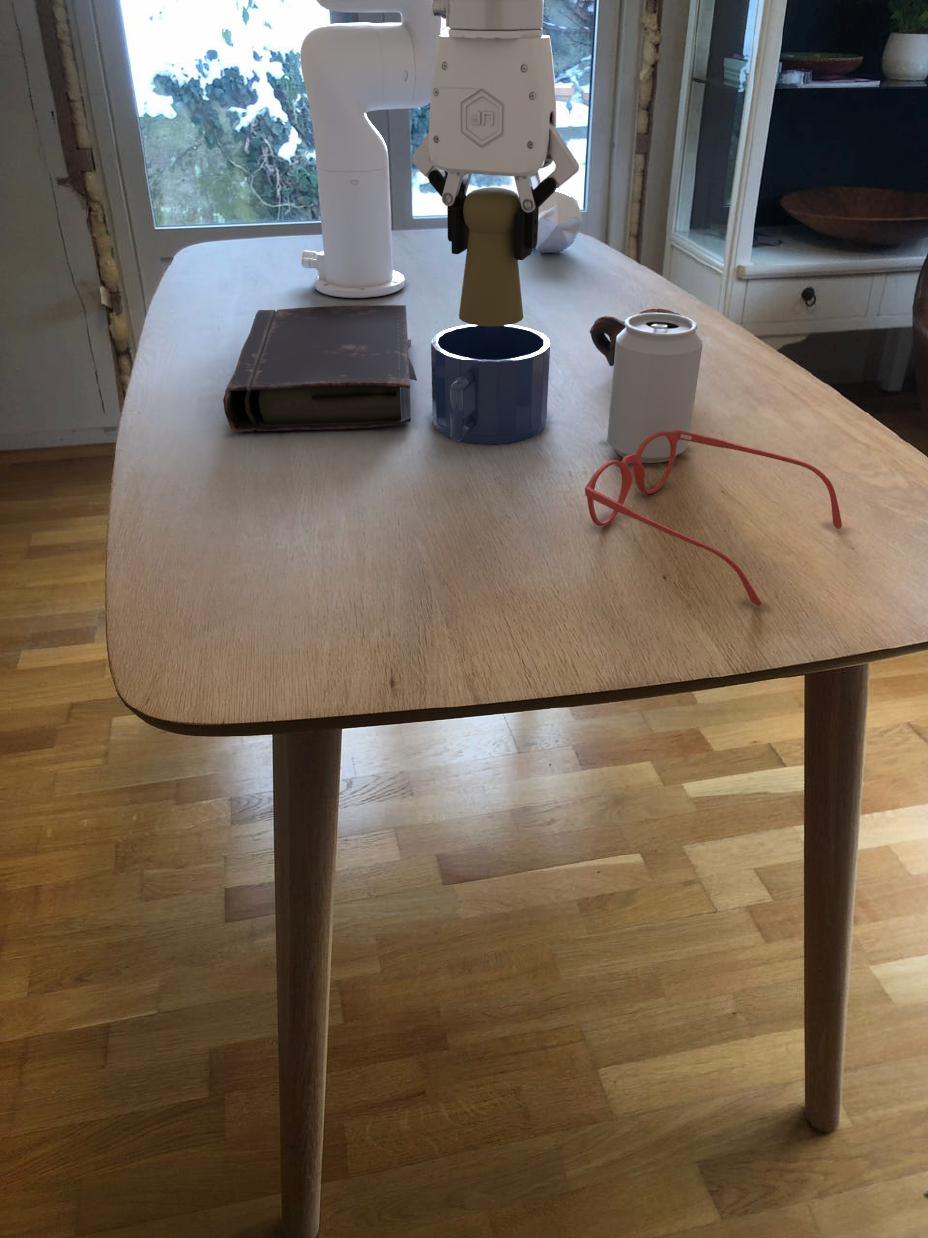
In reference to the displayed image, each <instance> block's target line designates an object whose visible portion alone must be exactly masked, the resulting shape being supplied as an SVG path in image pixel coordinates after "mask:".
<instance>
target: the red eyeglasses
mask: <svg viewBox="0 0 928 1238" xmlns="http://www.w3.org/2000/svg"><path fill="white" fill-rule="evenodd" d="M659 436H666V437H667V438H668V440H669V442H670V448H671V451H670V459H669V461H668V464H667V467H666V470H665V472H664V474H663V476H662V478H661V479H660V481H659V482H658V483H657V484H656V485H655V486H654V487H653V488H651V489H646V487H645V475H646V473H645V472H646V470H645V468H644V466H643V462H641V455H642V452H643V450H644V448H645V447H646V445H647V444H648V443H649V442H650V441H652V440H653V439H655V438H657V437H659ZM678 440H686V441H689V442H691V443H696V444H701V445H706V446H711V447H715V448H720V449H727V450H728V449H729V450H734V451H739V452H744V453H748V454H752V455H756V456H761V457H765V458H770V459H774V460H777V461H782V462H785V463H789V464H793V465H796V466H799V467H803V468H805V469H808V470H809V471H811V472H813V473H814V474H815V475H816V476H817V477H819V478H820V480H821V481H822V483H824V485H825V486H826V489H827V491H828V494H829V498H830V506H831V516H832V525H833V526H834V527H835V528H836V529H837V530H840V529H841V528H842V527H843V523H842V518H841V517H842V516H841V511H840V508H839V507H840V506H839V503H838V498H837V493H836V490H835V488H834V485H833V483H832V482H831V481H830V479H829V478H828V477H827V475H825V473H823V471H821V470H820V469H818V468H817V467H815V466H813V465H811V464H810V463H808V462H805V461H802V460H799V459H797V458H796V459H795V458H792V457H790V456H789V457H788V456H785V455H781V454H777V453H773V452H770V451H765V450H761V449H757V448H753V447H748V446H745V445H741V444H738V443H733V442H730V441H727V440H724V439H720V438H716V437H712V436H707V435H702V434H698V433H693V432H690V433H689V432H684V431H679V430H676V431H671V432H659V433H656V434H653V435H651V436H650V437H648V438H647V439H645V440H644V441H643V442H642V444H641V445H640V447H639V448H638V450H637V452H636V454H632V455H627V456H625V457H622V460H621V461H620V460H614V459H613V460H609V461H607V462H604V464H602V465H601V466H600V467H598V469H597V470H596V471H595V472H594V474H592V476H591V478H590V479H589V481H588V482H587V484H586V485H585V486H584V495H585V496H586V500H587V501H586V502H587V506H588V507H587V508H588V512H589V516H590V519H591V521H592V522H593V523H594V524H595V525H596V526H599V527H606V526H608V525H609V524H610V523H611V522H613V521H614V519H615V518H617V515H618V514H619V513H620V514H621V515H623V516H626V517H630V518H632V519H634V520H637V521H639V522H641V523H643V524H646V525H647V526H650V527H652V528H654V529H656V530H659V531H661V532H663V533H664V534H667V535H670V536H672V537H675V538H676V539H679V540H681V541H684V542H686V543H688V544H691V545H694V546H697V547H699V548H702V549H704V550H706V551H708V552H710V553H712V554H714V555H716V556H718V557H719V558H720V559H722V560H723V561H724V562H726V563H727V564H728V565H729V566H730V567H731V568H732V569H733V570H734V572H735V573H736V574H737V576H738V577H739V580H740V581H741V583H742V585H743V588H744V590H745V592H746V594H747V596H748V598H749V600H750V602H751V603H752V604H753V605H755V606H758V607H761V606H762V605H763V602H762V601H761V598H760V597H759V596H758V594H757V593H756V591H755V589H754V587H753V586H752V584H751V583H750V581H749V579H748V578H747V576H746V574H745V573H744V571H743V569H741V568H740V566H738V564H737V563H736V562H734V561H733V560H732V559H731V558H729V557H728V556H727V555H725V554H724V553H722V552H721V551H719V550H717V549H716V548H714V547H712V546H710V545H708V544H706V543H704V542H701V541H699V540H697V539H695V538H692V537H690V536H689V535H685V534H684V533H681V532H679V531H676V530H674V529H672V528H670V527H668V526H667V525H664V524H663V523H662V524H661V523H660V522H657V521H656V520H653V519H651V518H649V517H647V516H644V515H643V514H640V513H638V512H636V511H635V510H633V509H631V508H630V507H628V506H626V505H624V503H625V502H626V499H627V497H628V494H629V492H630V489H631V487H632V484H633V480H634V481H635V484H636V486H637V488H638V490H639V491H640V492H642V493H643V494H648V495H652V494H654V493H656V492H657V491H659V490H660V489H661V488H662V487H663V486H664V484H666V481H667V480H668V478H669V477H670V474H671V472H672V470H673V468H674V464H675V459H676V457H675V454H676V447H677V441H678ZM630 464H633V467H632V470H633V472H632V470H631V469H630V468H629V465H630ZM614 465H615V466H617V468H618V469H619V472H620V477H621V487H620V491H619V496H618V500H617V501H616V500H614V499H613V498H611V497H609V496H608V495H605V494H604V493H601V492H599V491H597V490H595V489H596V484H597V482H598V479H599V477H600V476H601V475H602V473H603V472H604V471H605V470H606V469H608V468H609V467H610V466H614ZM594 501H596V502H597V503H599V504H602V505H603V506H605V507H607V508H609V509H611V510H613V511H612V512H611V514H610V515H609V517H607V518H606V519H605V520H604V521H600V520H599V518H598V517H597V514H596V509H595V503H594Z"/></svg>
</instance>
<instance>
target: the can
mask: <svg viewBox="0 0 928 1238" xmlns="http://www.w3.org/2000/svg"><path fill="white" fill-rule="evenodd" d="M680 315H681V314H680ZM680 315H676V314H669V313H643V314H639V313H637V314H633V315H630V316H629V317H627V319H625V320H624V322H625V326H626V328H625V329H624V330H622V331H621V332H620V333H619V334H618V335H617V337H616V346H615V357H614V365H613V368H612V380H611V392H610V402H609V403H610V404H609V413H608V425H607V437H606V441H607V443H608V444H609V446H610V447H611V448H612V449H613V450H614V451H615V452H616V454H617V455H619V456H621V458H624V457H625V456H627V455H632V454H636V452H637V450H638V448H639V447H640V445H641V444H642V442H643V441H644V440H645V439H647V438H648V437H650V436H651V435H653V434H656V433H659V432H671V431H676V430H679V431H684V432H689V433H691V429H692V421H693V416H694V415H693V414H694V407H695V402H696V401H695V400H696V394H697V386H698V379H699V374H700V373H699V372H700V365H701V359H702V351H703V340H702V339H701V337H700V336H699V335H698V333H697V330H698V324H697V322H695V320H693V319H692V318H690V317H686V316H685V315H684V316H683V315H682V316H680ZM695 331H696V332H695ZM689 443H690V441H686V440H678V441H677V447H676V454H675V458H676V457H677V456H679V455H680V454H681V453H683V452H685V451H686V450H687V448H688V447H689ZM670 451H671V448H670V442H669V440H668V438H667V437H666V436H659V437H657V438H655V439H653V440H652V441H650V442H649V443H648V444H647V445H646V447H645V448H644V450H643V452H642V455H641V462H642V463H645V464H655V463H665V462H669V459H670Z"/></svg>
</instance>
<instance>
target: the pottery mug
mask: <svg viewBox="0 0 928 1238" xmlns="http://www.w3.org/2000/svg"><path fill="white" fill-rule="evenodd" d="M643 313H669V314H676V315H680V316H683V315H681V314H680V313H678V312H674V311H672V310H669V309H665V308H649V309H645V310H642V311H640V312H639V313H638V314H643ZM625 328H626V326H625V321H622V320H621V319H619V318H617V317H615V316H608V315H605V316H601V317H598V318H597V319H595V321H594V322H593V324H592V326H591V328H590V329H589V334H590V337H591V341H592V343H593V345H594V346H595V348H596V349H597V350H598V351H599V352H600V353H601V354H602V355H603V356H604V357H605V359H606V360H607V363H608V365H609V367H614V357H615V346H616V337H617V335H618V334H619V333H620V332H621V331H622V330H624V329H625ZM695 332H696V333H697V330H695Z"/></svg>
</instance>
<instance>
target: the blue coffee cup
mask: <svg viewBox="0 0 928 1238" xmlns="http://www.w3.org/2000/svg"><path fill="white" fill-rule="evenodd" d="M430 353H431V354H430V360H431V363H430V364H431V365H430V366H431V402H432V403H431V406H432V407H431V408H432V411H431V412H432V413H431V414H432V423H433V426H434V428H435V429H436V430H437V431H438V432H439V433H440V434H442V435H443V436H445V437H448V438H451V440H452V441H453V442H458V443H459V442H464V443H470V444H476V445H477V444H479V445H502V444H512V443H517V442H521V441H524V440H528V439H531V438H533V437H536V436H537V435H539V434H540V433H541V432H542V431H543V430H544V429H545V427H546V424H547V417H548V416H547V415H548V397H549V379H550V378H549V377H550V356H551V340H550V339H549V337H547V335H546V334H544V333H542V332H540V331H537V330H535V329H532V328H529V327H524V326H520V325H515V324H511V325H505V326H477V325H472V324H466V325H459V326H455V327H451V328H448V329H445V330H442V331H440V332H438V333H437V334H435V335H434V336H433V337H432V339H431V343H430Z"/></svg>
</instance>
